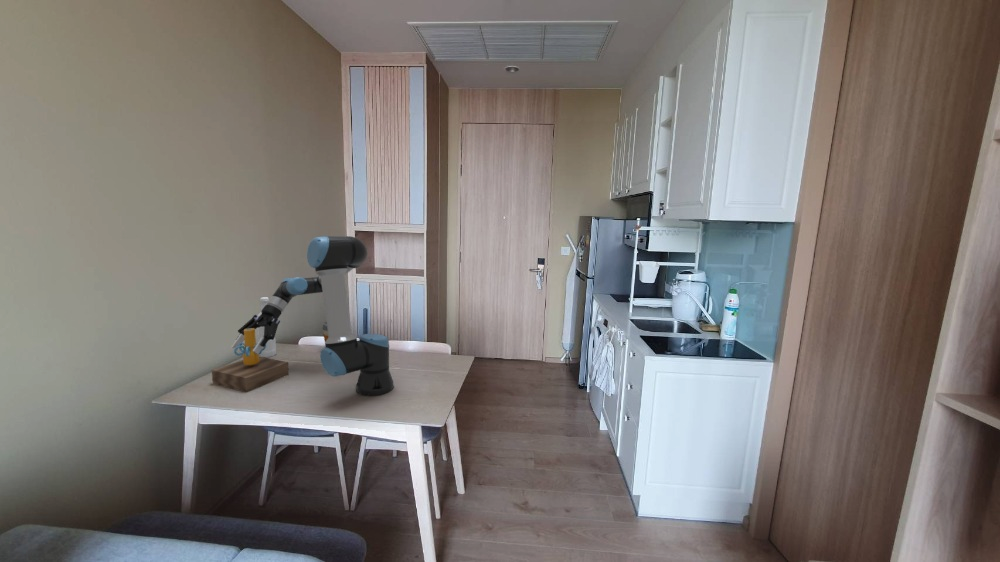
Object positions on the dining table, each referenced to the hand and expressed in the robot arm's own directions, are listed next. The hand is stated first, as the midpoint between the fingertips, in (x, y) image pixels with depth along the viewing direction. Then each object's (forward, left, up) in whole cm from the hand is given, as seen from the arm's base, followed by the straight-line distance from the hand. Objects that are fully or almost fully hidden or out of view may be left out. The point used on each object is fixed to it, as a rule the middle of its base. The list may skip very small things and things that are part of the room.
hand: (244, 350), depth 167 cm
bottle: (+21, -28, -14) cm, 37 cm away
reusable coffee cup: (-4, -49, -14) cm, 51 cm away
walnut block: (0, -3, -14) cm, 14 cm away
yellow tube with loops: (0, -3, -7) cm, 7 cm away
